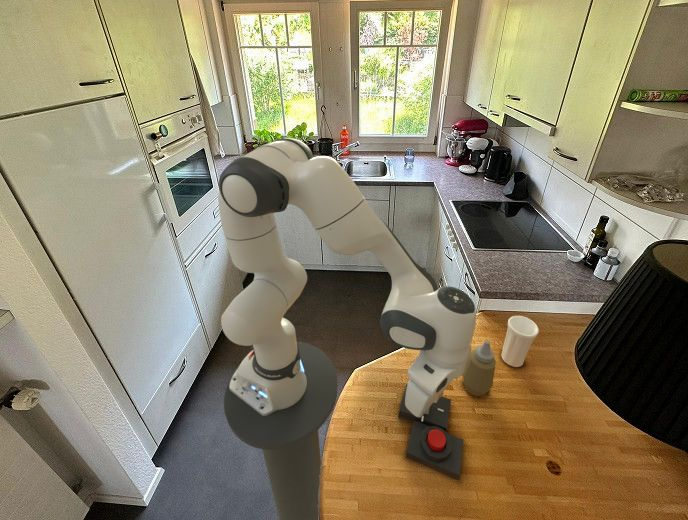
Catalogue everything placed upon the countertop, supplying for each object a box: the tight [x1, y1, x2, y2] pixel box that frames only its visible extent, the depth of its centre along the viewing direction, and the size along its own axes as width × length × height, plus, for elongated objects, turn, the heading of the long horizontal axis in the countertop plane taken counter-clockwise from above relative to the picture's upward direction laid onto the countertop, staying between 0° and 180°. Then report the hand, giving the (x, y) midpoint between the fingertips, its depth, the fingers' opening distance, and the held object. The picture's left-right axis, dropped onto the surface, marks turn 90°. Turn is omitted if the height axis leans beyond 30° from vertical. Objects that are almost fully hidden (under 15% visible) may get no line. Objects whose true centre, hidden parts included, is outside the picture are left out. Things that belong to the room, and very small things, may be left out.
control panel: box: [398, 383, 452, 433], centre depth 84 cm, size 12×9×3 cm
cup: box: [500, 315, 540, 368], centre depth 96 cm, size 8×8×14 cm
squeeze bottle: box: [461, 339, 497, 397], centre depth 87 cm, size 8×8×18 cm
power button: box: [427, 429, 446, 452], centre depth 75 cm, size 4×4×2 cm
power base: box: [405, 420, 464, 481], centre depth 76 cm, size 12×8×4 cm, turn 68°
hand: (436, 397), depth 74 cm, fingers closed
